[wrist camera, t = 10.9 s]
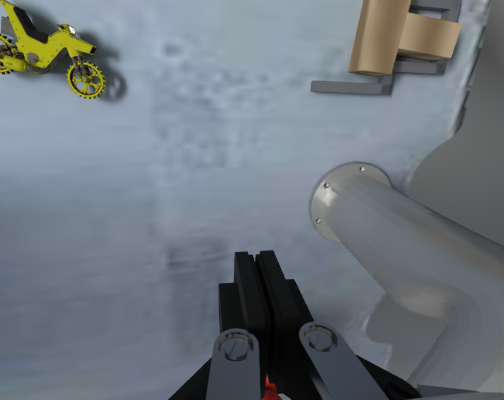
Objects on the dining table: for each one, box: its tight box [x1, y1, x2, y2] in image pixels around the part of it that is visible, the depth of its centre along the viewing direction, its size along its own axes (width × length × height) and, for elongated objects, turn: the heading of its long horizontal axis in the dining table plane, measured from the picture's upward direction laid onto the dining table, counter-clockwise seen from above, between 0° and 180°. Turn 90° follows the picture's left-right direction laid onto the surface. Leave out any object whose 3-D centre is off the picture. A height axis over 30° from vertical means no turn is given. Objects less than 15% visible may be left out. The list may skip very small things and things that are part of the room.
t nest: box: [311, 0, 462, 95], centre depth 35 cm, size 17×14×1 cm
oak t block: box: [348, 0, 462, 76], centre depth 34 cm, size 10×9×4 cm
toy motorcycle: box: [0, 0, 107, 99], centre depth 29 cm, size 12×4×7 cm
